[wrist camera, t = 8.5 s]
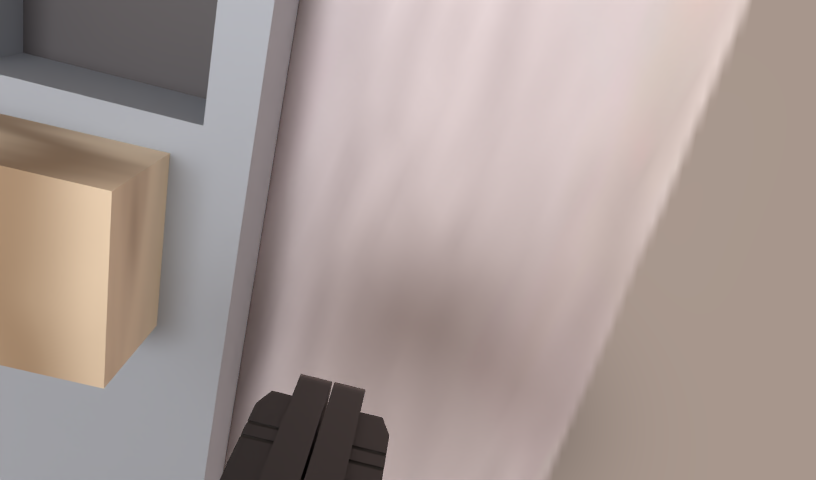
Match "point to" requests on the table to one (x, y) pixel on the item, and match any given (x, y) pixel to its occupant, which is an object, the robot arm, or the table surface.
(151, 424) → the board
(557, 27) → the table surface
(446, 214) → the table surface
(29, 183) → the beech block
